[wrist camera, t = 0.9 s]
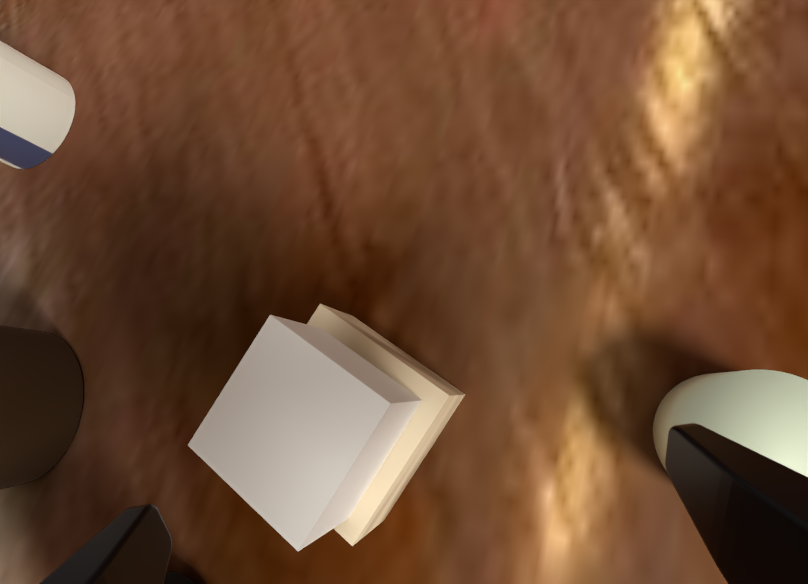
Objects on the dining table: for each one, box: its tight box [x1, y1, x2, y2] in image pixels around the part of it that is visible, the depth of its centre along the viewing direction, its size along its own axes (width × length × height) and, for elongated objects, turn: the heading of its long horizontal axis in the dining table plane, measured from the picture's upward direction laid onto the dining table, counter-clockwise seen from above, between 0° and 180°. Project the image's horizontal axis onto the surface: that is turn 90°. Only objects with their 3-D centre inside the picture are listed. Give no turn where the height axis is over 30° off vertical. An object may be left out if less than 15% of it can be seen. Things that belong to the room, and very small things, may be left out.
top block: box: [188, 315, 422, 551], centre depth 17 cm, size 6×6×4 cm
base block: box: [307, 304, 465, 546], centre depth 21 cm, size 7×7×4 cm
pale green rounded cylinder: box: [653, 370, 808, 477], centre depth 17 cm, size 5×5×4 cm
